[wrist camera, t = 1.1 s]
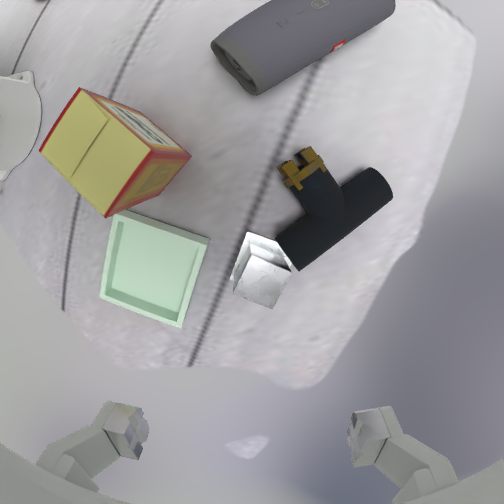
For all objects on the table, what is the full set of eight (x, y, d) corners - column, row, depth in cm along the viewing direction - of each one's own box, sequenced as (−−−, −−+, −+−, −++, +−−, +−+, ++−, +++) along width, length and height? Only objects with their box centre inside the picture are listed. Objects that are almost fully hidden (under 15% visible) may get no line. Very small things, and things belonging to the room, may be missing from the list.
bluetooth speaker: (259, 107, 33) (264, 88, 23) (212, 58, 30) (202, 26, 21) (379, 31, 29) (412, 4, 19) (337, -13, 26) (358, -47, 17)
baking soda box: (191, 156, 34) (153, 152, 19) (159, 194, 35) (103, 219, 20) (140, 112, 32) (76, 86, 17) (110, 150, 33) (36, 150, 18)
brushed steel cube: (233, 276, 38) (233, 293, 33) (249, 242, 37) (251, 255, 32) (267, 290, 39) (272, 309, 34) (284, 258, 38) (291, 272, 32)
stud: (229, 278, 39) (228, 292, 35) (247, 230, 37) (247, 239, 33) (277, 293, 40) (281, 309, 36) (297, 248, 38) (303, 259, 34)
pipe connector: (241, 197, 30) (348, 120, 28) (241, 194, 35) (333, 126, 34) (302, 277, 33) (399, 202, 31) (294, 263, 38) (379, 197, 36)
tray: (107, 288, 39) (99, 297, 36) (123, 209, 36) (114, 212, 33) (184, 317, 41) (180, 328, 38) (209, 239, 37) (207, 245, 35)
